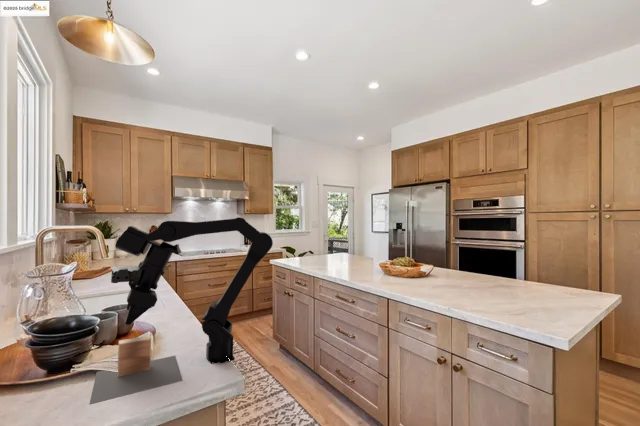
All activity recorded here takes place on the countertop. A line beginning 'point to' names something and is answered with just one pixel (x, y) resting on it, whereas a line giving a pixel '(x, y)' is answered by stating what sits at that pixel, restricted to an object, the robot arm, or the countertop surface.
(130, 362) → the cream rectangular block
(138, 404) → the countertop surface
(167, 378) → the mat
